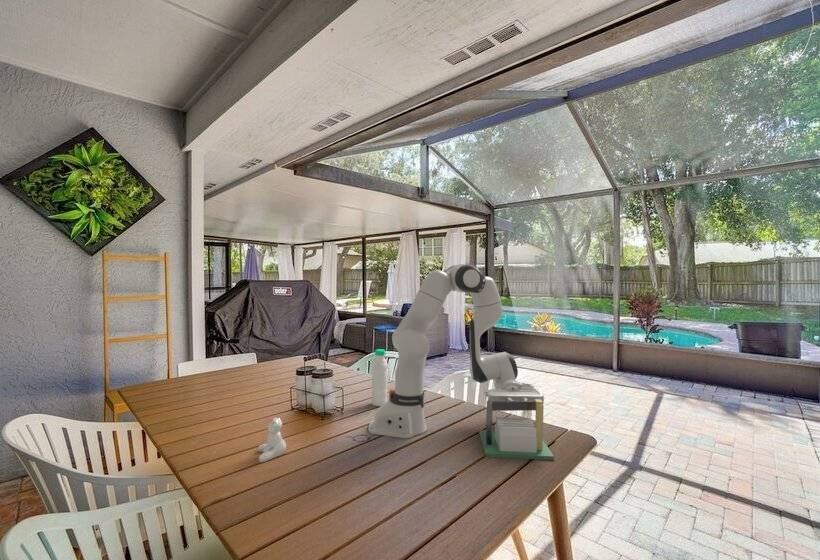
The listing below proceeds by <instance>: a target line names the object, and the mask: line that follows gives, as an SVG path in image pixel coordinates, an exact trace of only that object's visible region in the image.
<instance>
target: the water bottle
mask: <svg viewBox="0 0 820 560" xmlns="http://www.w3.org/2000/svg"><path fill="white" fill-rule="evenodd" d="M374 355H375V359H374V361H373V362H372V365H371V366H372V367H371V368H372V371H371V372H372V374H371V375H372V377H371V386H372V389H371V404H372V405H373V406H374V407H381V406H382V405H384V404H385V403H387V402H388V368H389V367H388V366H389V365H388V362H387V360H386V358H385V356H386V350H385V348H384V349H382V348H379V349H375V351H374Z"/></svg>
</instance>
